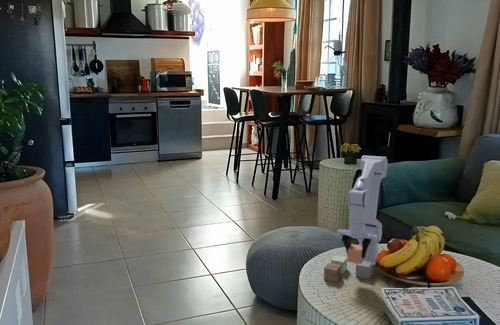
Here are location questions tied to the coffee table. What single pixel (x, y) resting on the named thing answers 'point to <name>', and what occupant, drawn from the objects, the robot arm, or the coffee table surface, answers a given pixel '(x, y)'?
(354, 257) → the terracotta block
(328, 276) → the walnut block
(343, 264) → the sage block
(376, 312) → the coffee table surface
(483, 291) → the coffee table surface
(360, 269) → the slate block
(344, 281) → the coffee table surface
